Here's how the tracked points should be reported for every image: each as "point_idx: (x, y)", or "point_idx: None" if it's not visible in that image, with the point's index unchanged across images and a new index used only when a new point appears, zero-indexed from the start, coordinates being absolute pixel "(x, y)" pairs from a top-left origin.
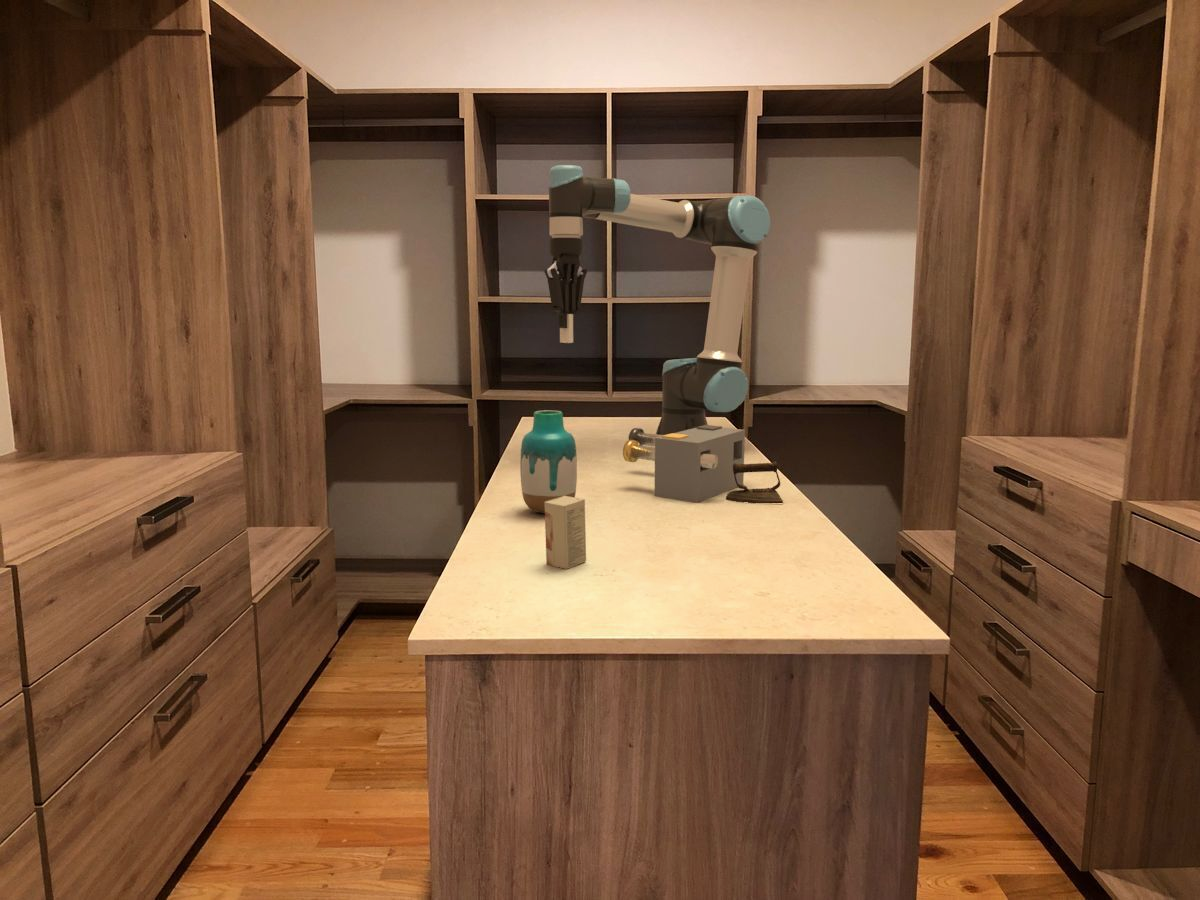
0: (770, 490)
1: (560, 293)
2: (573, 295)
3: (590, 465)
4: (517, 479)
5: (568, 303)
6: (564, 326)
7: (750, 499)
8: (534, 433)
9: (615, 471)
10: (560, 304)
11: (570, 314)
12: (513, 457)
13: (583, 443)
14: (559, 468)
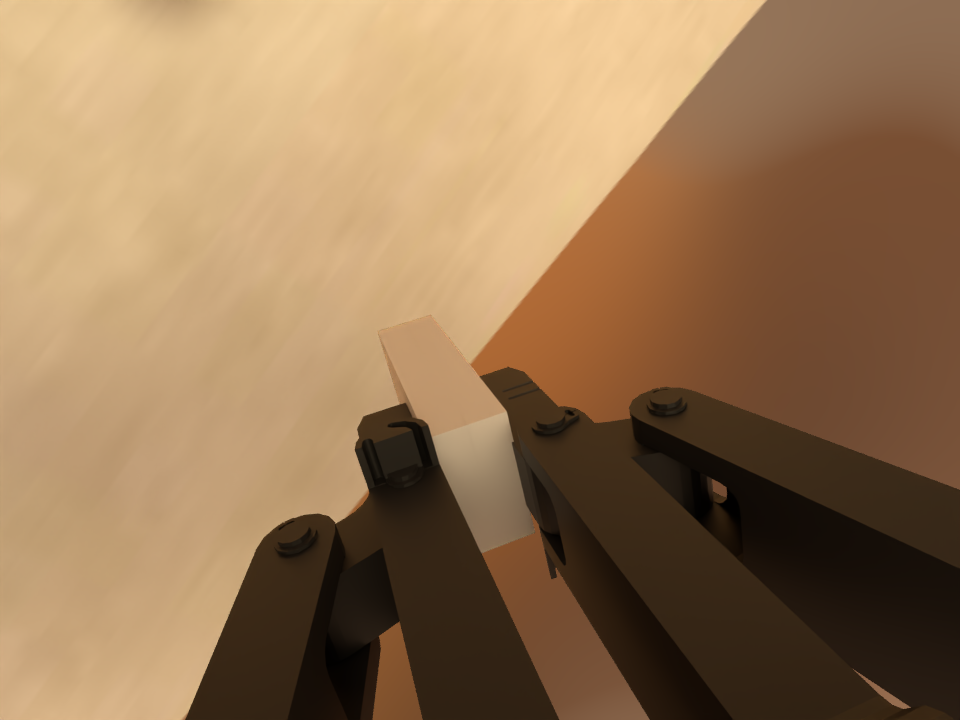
0: None
1: (864, 497)
2: (468, 629)
3: (244, 206)
4: (560, 178)
5: (561, 489)
6: (511, 374)
7: None
8: None
9: (228, 54)
10: (731, 418)
11: (476, 421)
12: None
13: (19, 560)
14: None
